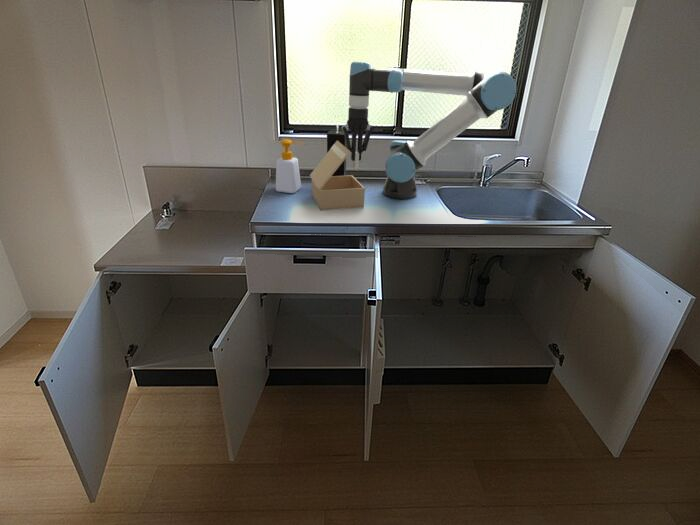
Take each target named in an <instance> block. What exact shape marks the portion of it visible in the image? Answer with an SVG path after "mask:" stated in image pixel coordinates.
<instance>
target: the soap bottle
mask: <svg viewBox="0 0 700 525" xmlns="http://www.w3.org/2000/svg"><path fill="white" fill-rule="evenodd" d="M279 143H280V144H281V146H282V147H284V151H281V157H280V158H278V159H277V160H276V163H275V164H276V165H275V166H276V167H275V191H276V192H279V193H286V194H287V193H289V194H296V193H297V192H298V191H299V190H300V189H301V188H302V183H301V182H302V180H301V173H300V167H299V166H300V165H299V159H298V158H297V157H295V156H294V157H293V151H290V149H289V148H290V147H292V144H298V145H303V146H307V144H306V143H303V142H300V141H299V142H298V141H292V140H290V139H288V138H284V139H282V140H281V141H280V142H279Z"/></svg>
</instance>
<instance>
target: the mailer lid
mask: <svg viewBox="0 0 700 525" xmlns="http://www.w3.org/2000/svg"><path fill="white" fill-rule="evenodd" d="M349 155H351V152H350V151H349V150H348V149H347V148H346V147H345V146H343V145H342V144H341V143H340V142H339V141H336V143H335V144H334V145H333V146H332V147H331V149H330V150H329V151H328V153H327V152H326V154H325V155H324V156H323V157H322V159H321V161H319V163H318V164H317V166H316V167H314V169H313V170H312V171H311V173H310V174H309V178H310V179H311V181H312V180H313V182H314V183H315V185H316V186H317V188H318V189H319V190H321V188H322V187H323V186H324V185H325V184H326V182H327V181H328V180H329V179H330V177H331V176H332V175H333V174H334V172H335V171H336V170H337V169H338V167H339V166H340V165H341V164H342V162H343V161H344V160H345V159H346V160H347V158H348V156H349Z"/></svg>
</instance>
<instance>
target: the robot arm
mask: <svg viewBox="0 0 700 525" xmlns="http://www.w3.org/2000/svg"><path fill="white" fill-rule="evenodd" d="M348 88H349V92H348V94H349V96H348V106H349V107H348V117H347V118H348V119H347V122H346V124H344V125H341V128H340V129H341V131H343V132H344V136H345V141H346V146H347V149H348V150H349V151H350V158H351V161H352V163H353V164H352V168H353V169H354V170H359V167H360V166H359V163H360V161H361V160H362V153H363V152H366V151H367V149H368V145H369V141H370V137H371V136H372V135H371V134H372V132H373V131H374V129H375V127H374V126H372V125H371V124H370V123H369V120H368V118H369V108H368V107H369V106H370V105H369V104H370V100H369V99H370V92H381V93H382V92H383V93H391V94H393V93H400V92H401V91H411V92H421V93H430V94H432V93H433V94H443V95H452V96H453V95H454V96H463V97H466V99H465V100H463V101H462V102H460V103H459V104H458V105H457V106H456V107H454V108H452V109H451V111H449V112H448V113H447V114H446V115H444V116H443V117H442V118H441V119H440V120H438V121H437V122H436V123H435V124H433V125H432V126H431V127H429V128H428V129H427V130H426V131H424V132H423V133H422V134H420V135H419V136H418V137H417V138H416V139H415V140H392V141H391V142H390V146H389V154H388V157H387V158H386V161H385V173H386V175H387V177H386V179H385V182H384V183H383V184H384V185H383V187H382V193H383V195H384V196H387V198H388V197H389V198H392V199H399V200H406V199H407V200H408V199H413V198H415V197H417V191H418V188H417V184H416V179H415V175H416V172H418V171H420V170H421V169H422V168H423V167H425V166H426V163H427V162H426V161H427V160H428V159H429V158H430V157H431V156H433V155H434V154H435V153H437V152H438V151H439V150H440V149H442V148H443V147H444V146H446V145H447V144H448V143H450V142H451V141H452V140H453V139H455V138H456V137H457V136H459V135H460V134H462V133H463V132H464V131H466V130H467V129H468V128H470V127H471V126H472V125H473V124H475V123H476V122H477V121H478V120H480V119H488V118H489V117H491V116H492V115H494V114H495V113H496V112H498V111H500V110H503V109H504V110H505V109H506V108H507V107H508V106H510V105H511V104H512V102H513V101H514V99H515V98H516V94H517V84H516V81H515V79H514V77H512V75H511V74H510V73H508V72H505V71H501V70H491V71H472V72H471V73H460V72H449V71H448V72H447V71H446V72H445V71H434V70H433V71H432V70H422V69H421V70H420V69H407V68H397V67H389V66H388V67H386V68H372V64H371V62H367V61H352V62H351V64H350V71H349V87H348ZM349 130H350V131H351V139H350V134H349ZM364 132H365V134H364ZM364 135H365V136H364ZM363 136H364V137H363ZM363 138H364V139H363ZM350 140H351V141H350ZM356 150H357V151H356Z"/></svg>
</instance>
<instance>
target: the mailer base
mask: <svg viewBox="0 0 700 525" xmlns="http://www.w3.org/2000/svg"><path fill="white" fill-rule="evenodd" d="M365 192H366V187H364V186H363V184H362V183H360V181H359V180H357V179H356V178H355V177H354V175H346V176H331V177H330V179H329V180H328V181H327V182H326V184H325V185H324V186H323V187H322V188H321V190H319V189H318V188H317V186H316V185H315V183H314V182H313V180H312V179H311V196H312V197H313V199H314V201H315V203H316V205H317V206H318V208H319V210H320V211H329V210H331V211H332V210H340V209H341V210H342V209H343V210H344V209H356V208H357V209H358V208H364V207H365V194H366V193H365Z"/></svg>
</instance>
